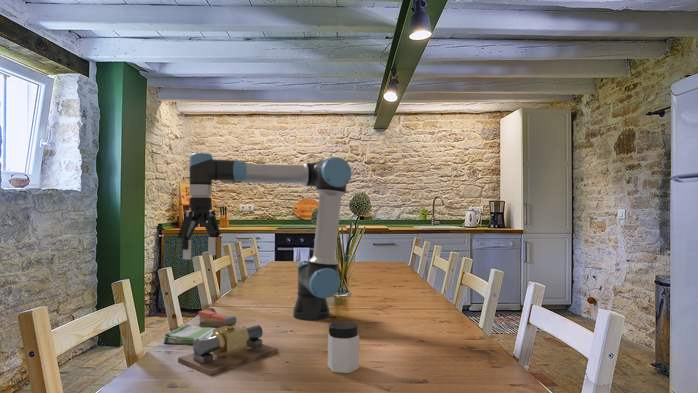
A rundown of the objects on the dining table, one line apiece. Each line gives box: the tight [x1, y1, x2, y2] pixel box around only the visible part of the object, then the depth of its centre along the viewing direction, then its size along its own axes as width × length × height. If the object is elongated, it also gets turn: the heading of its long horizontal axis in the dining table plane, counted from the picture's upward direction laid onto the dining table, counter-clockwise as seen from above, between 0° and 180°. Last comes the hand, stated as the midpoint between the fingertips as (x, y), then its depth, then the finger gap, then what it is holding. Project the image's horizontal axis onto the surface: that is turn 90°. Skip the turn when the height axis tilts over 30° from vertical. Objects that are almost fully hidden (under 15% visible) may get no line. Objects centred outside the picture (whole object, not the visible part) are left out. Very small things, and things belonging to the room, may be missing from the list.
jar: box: [327, 321, 360, 374], centre depth 123 cm, size 9×8×12 cm
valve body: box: [192, 324, 264, 365], centre depth 131 cm, size 22×7×9 cm, turn 142°
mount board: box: [177, 343, 279, 376], centre depth 131 cm, size 24×16×1 cm, turn 142°
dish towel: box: [162, 323, 216, 346], centre depth 151 cm, size 17×23×4 cm
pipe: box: [198, 307, 226, 328], centre depth 165 cm, size 6×17×10 cm
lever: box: [198, 309, 237, 325], centre depth 135 cm, size 16×4×2 cm, turn 52°
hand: (199, 257), depth 154 cm, fingers open, 13 cm apart
